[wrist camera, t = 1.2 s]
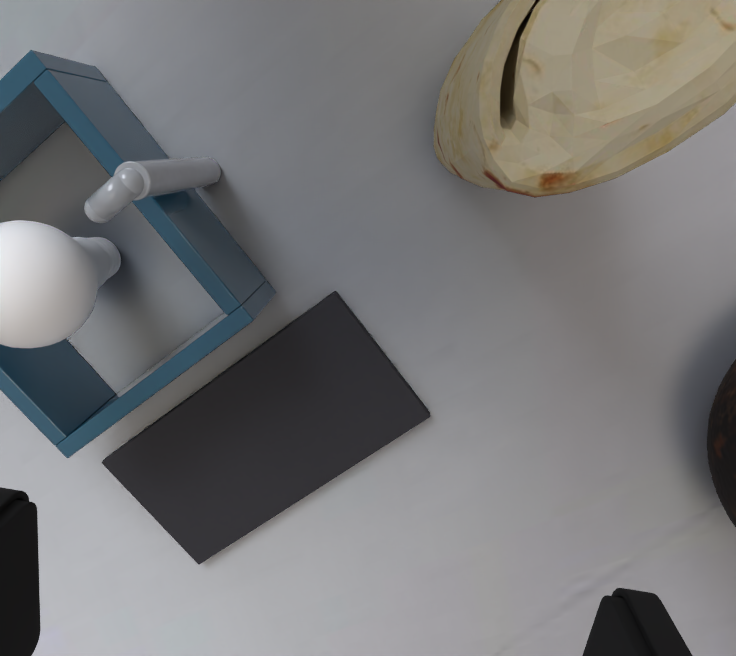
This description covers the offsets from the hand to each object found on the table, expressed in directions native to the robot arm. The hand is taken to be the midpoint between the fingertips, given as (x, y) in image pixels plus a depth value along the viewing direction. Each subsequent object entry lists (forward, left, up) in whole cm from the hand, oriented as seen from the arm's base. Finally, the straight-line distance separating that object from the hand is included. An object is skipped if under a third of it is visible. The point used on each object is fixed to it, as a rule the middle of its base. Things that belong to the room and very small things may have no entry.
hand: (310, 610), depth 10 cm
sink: (-11, -12, -27) cm, 31 cm away
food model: (-4, +11, -27) cm, 30 cm away
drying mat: (+4, -13, -27) cm, 30 cm away
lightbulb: (-11, -13, -27) cm, 32 cm away
